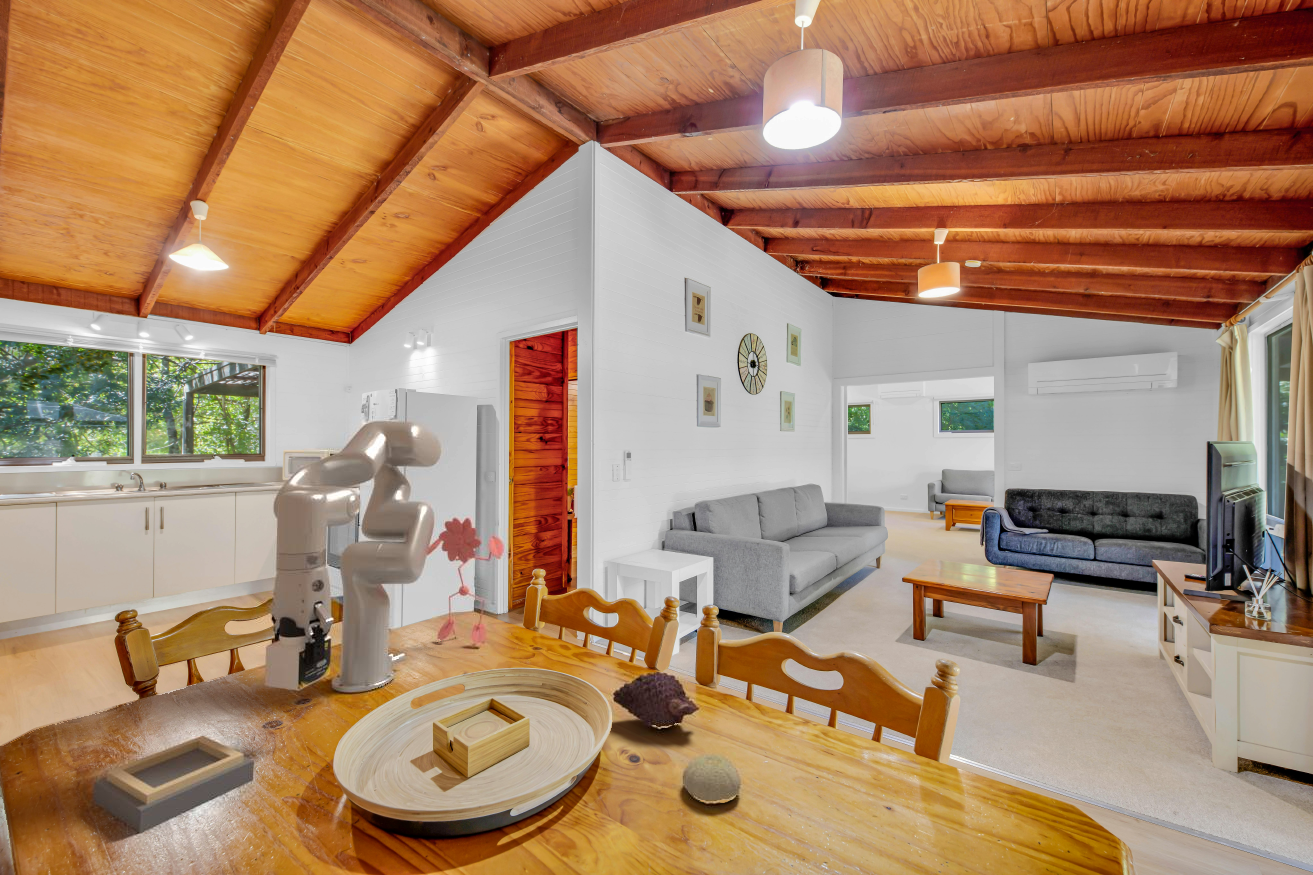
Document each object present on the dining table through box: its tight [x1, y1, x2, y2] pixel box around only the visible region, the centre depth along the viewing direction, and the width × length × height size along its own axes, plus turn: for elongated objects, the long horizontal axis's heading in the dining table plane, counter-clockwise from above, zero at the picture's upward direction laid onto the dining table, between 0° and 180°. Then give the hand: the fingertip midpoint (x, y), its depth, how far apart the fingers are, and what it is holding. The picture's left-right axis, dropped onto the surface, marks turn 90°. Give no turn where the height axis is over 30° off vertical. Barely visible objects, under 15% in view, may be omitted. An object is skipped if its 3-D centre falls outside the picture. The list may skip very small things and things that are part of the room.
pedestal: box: [92, 735, 255, 834], centre depth 84 cm, size 14×14×4 cm
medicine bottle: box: [264, 617, 332, 691], centre depth 99 cm, size 7×7×12 cm
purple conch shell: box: [612, 671, 700, 727], centre depth 109 cm, size 18×10×10 cm, turn 74°
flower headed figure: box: [427, 517, 505, 645], centre depth 148 cm, size 15×26×35 cm, turn 73°
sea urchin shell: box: [682, 753, 742, 801], centre depth 88 cm, size 9×8×8 cm
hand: (299, 657), depth 99 cm, fingers closed on medicine bottle, 8 cm apart
